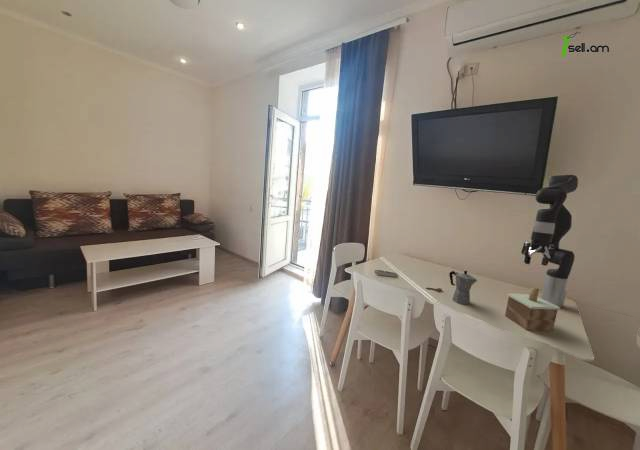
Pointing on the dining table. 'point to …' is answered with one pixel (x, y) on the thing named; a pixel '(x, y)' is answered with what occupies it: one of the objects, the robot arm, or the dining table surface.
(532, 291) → the lid
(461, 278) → the coffeepot
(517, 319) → the box
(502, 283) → the dining table surface
